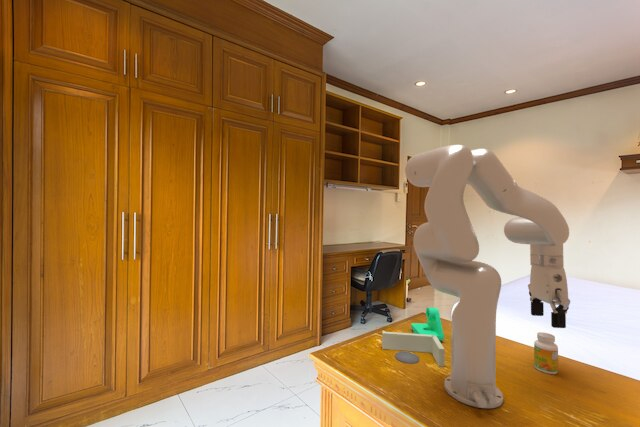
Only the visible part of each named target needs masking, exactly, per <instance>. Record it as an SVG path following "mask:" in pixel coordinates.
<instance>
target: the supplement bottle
mask: <svg viewBox="0 0 640 427" xmlns="http://www.w3.org/2000/svg"><path fill="white" fill-rule="evenodd" d="M536 334H537V335H536V338H537V339H536V340H534V343H533V348H534V349H533V353H534V354H533V366H534V368H535V369H536V370H538V371H540V372H543V373H545V374H549V375H550V374H551V375H556V374H557V373H558V372H559V347H558V345H557V344H556V343H555V342H556V337H555V335H554V334H552V333H547V332H542V331H541V332H537V333H536Z"/></svg>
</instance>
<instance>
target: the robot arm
mask: <svg viewBox="0 0 640 427" xmlns="http://www.w3.org/2000/svg"><path fill="white" fill-rule="evenodd" d="M404 174H405V177H406V179H407V180H408V182H409V183H410V184H411V185H413V186H414V187H417V188H418V187H419V188H428V191H427V193H426V197H425V200H424V214H425V216H426V219H427V222H424V223H422V224H420V225H419V226H418V227H416V230H415V231H414V235H413V241H412V242H413V249H414V251H415V254H416V256H417V259H418V260H419V263H420V265H421V268H422V270H423V272H424V274H425V277H426V278H427V281H428V282H429V284H430V285H431V287H432V288H434V290H436V291H439V292H441V293H443V294H447V295H450V296H454V297H456V298H459V301H458V303H457V305H456V306H455V307H454V309H453V311H452V314H451V338H450V339H451V342H450V344H451V350H450V351H451V352H450V353H451V355H450V356H451V358H450V359H451V360H450V363H451V364H450V365H451V366H450V368H451V369H450V374H451V375H449V376H447V377H446V378H445V379H444V381H443V386H444V390H445V391H446V393H447V394H448V395H449V396H450V397H452V398H453V399H455V400H456V401H457V402H460V403H462V404H465V405H468V406H469V407H474V408H479V409H494V408H495V409H496V408H498V407H501V406H502V404H503V402H504V394H503V392H502V390H500V388H499V387H497V386H496V375H497V374H496V365H497V364H496V363H497V360H496V359H497V358H496V356H497V354H496V353H497V352H496V351H497V350H496V349H497V348H496V342H497V336H496V335H497V330H496V328H497V308H498V304H499V303H498V302H499V298H500V293H501V289H502V278H501V275H500V273H499V271H498V269H496V268H495V267H493V266H492V265H491V264H490V265H489V264H487V263H485V262H480V261H477V260H476V258H477V257H478V255H479V252H480V244H479V241H478V236H477V234H476V232H475V229H474V226H473V225H472V222H471V219H470V217H469V214H468V212H467V209H466V205H465V202H464V193H465V188H466V185H468V186H470V187H471V188H472V189H473V190H474V191H475V193H477V195H478V197H479V198H480V199H481V200H482V201H483V202H484V204H485V205H486V206H487V207H488V208H490V209H491V210H493V211H497V212H499V213H503V214H506V215H511V216H514V218H511V219H509V220H508V221H507V222H506V223H505V224H504V227H503V234H504V236H505V237H506V239H507V240H509V241H510V242H512V243H515V244H520V245H529V246H530V247H529V250H530V251H529V252H530V253H529V255H530V256H529V257H530V259H529V260H530V262H529V263H530V264H529V265H530V266H531V267H530V274H529V275H530V276H529V284H527V287H528V294H529V300H530V314H531V316H535V317H536V316H538V317H539V316H540V317H543V316H544V303H546V304H549V305H550V307H551V310H552V311H551V313H550V314H551V315H550V319H551V324H550V325H551V328H555V329H566V327H567V325H566V324H567V323H566V322H567V321H566V320H567V319H566V318H567V316H566V315H567V314H568V310H569V307H570V304H571V300H570V298H569V290H568V289H569V288H568V280H567V273H566V271H565V268H564V267H565V266H564V244H565V243H566V242H567V241H568V240H569V237H570V227H569V224H568V222H567V221H566V219H565V217H564V216H563V213H562V212H561V211H560V209H559V208H558V207H557V206H556V204H554V203H553V202H551V201H550V200H548V199H547V198H544V197H543V196H540V195H539V194H537V193H534V192H532V191H530V190H528V189H526V188H523V187H521V186H519V185H518V183H517V182H516V181H515V179H514V177H512V175H511V174H510V172H509V171H508V169H507V168H506V167H505V166H504V164H503V163H502V162H501V160H500V159H499V157H498V156H497V155H496V154H495V153H494V152H493V151H492V150H490V149H488V148H481V147H480V148H475V149H471V148H469V147H468V146H466V145H464V144H450V145H445V146H441V147H437V148H434V149H431V150H428V151H423V152H419V153H417V154H414V155H413V156H411V157H410V158H409V159H408V160H407V162H406V164H405V167H404Z"/></svg>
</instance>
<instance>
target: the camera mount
mask: <svg viewBox="0 0 640 427" xmlns="http://www.w3.org/2000/svg"><path fill="white" fill-rule="evenodd" d="M425 317H426V319H427V321H426V323H424V322H423V323H422V322H421V323H419V322H417V323H416V322H412V323H411V324H410V327H411V329H412V331H413V332H412V334H425V335H435V336H437V338H438V339H439V341H445V335H444V329H443V325H442V320H441V315H440V310H439V308H438V307H426V308H425Z"/></svg>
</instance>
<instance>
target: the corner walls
mask: <svg viewBox="0 0 640 427" xmlns="http://www.w3.org/2000/svg"><path fill="white" fill-rule="evenodd" d="M381 349H382V350H393V351H394V350H395V351H402V352H415V353H416V352H417V353H429V354H430V353H431V355H433V358H434V359H435V361H436V364H437V365H438V367H443V368H444V367H445V365H446V364H445V362H446V361H445V360H446V359H445V351H446V350H445V347H444V346H443V344H442V343H441V340H439V339H438V338H437V336H435V335H425V334H414V333H411V332H410V333H408V332H394V331H383V330H382V333H381Z"/></svg>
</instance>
